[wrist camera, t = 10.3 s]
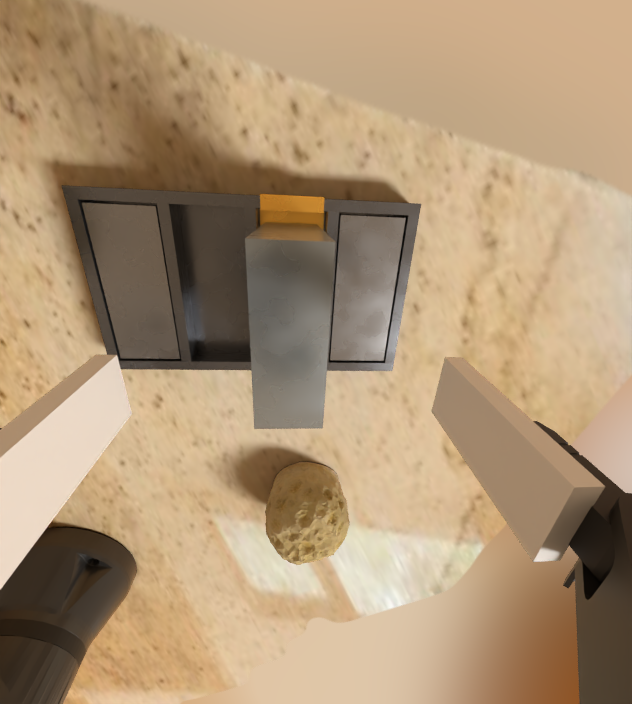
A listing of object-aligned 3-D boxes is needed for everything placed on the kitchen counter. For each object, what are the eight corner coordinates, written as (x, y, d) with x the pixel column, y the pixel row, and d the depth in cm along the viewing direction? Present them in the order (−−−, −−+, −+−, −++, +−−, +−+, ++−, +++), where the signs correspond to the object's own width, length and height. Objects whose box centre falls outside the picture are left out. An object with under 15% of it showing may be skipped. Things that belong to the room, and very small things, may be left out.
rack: (125, 356, 29) (106, 373, 26) (83, 185, 23) (52, 183, 20) (385, 358, 31) (394, 375, 28) (409, 202, 25) (425, 202, 22)
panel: (268, 344, 29) (254, 428, 18) (265, 221, 24) (245, 238, 14) (311, 344, 29) (322, 428, 19) (316, 223, 25) (335, 242, 14)
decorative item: (282, 442, 40) (228, 513, 33) (347, 456, 34) (297, 547, 27) (310, 488, 44) (267, 560, 38) (372, 509, 38) (335, 598, 31)
